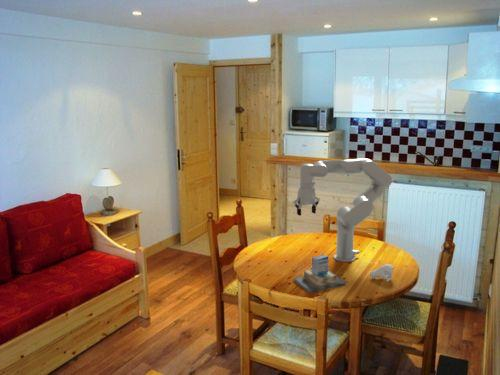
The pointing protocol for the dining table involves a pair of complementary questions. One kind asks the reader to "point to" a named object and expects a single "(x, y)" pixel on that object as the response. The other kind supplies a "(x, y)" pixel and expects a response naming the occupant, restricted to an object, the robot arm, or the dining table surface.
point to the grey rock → (383, 272)
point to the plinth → (314, 289)
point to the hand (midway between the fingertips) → (306, 214)
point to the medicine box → (320, 264)
